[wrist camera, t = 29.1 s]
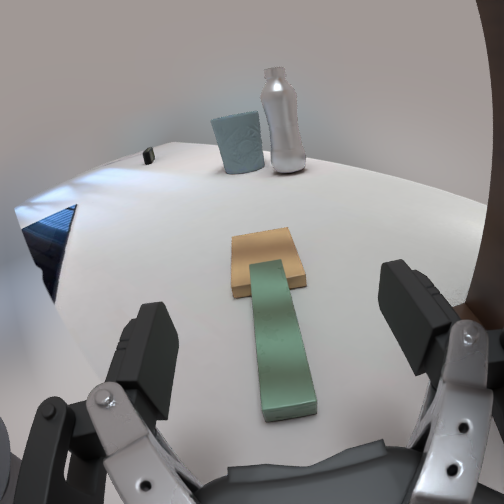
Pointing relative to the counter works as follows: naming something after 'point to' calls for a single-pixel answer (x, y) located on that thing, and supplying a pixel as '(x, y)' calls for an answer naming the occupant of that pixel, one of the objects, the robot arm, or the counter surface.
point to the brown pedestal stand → (491, 189)
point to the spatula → (275, 320)
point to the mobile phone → (148, 155)
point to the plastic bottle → (282, 122)
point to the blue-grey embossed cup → (239, 142)
